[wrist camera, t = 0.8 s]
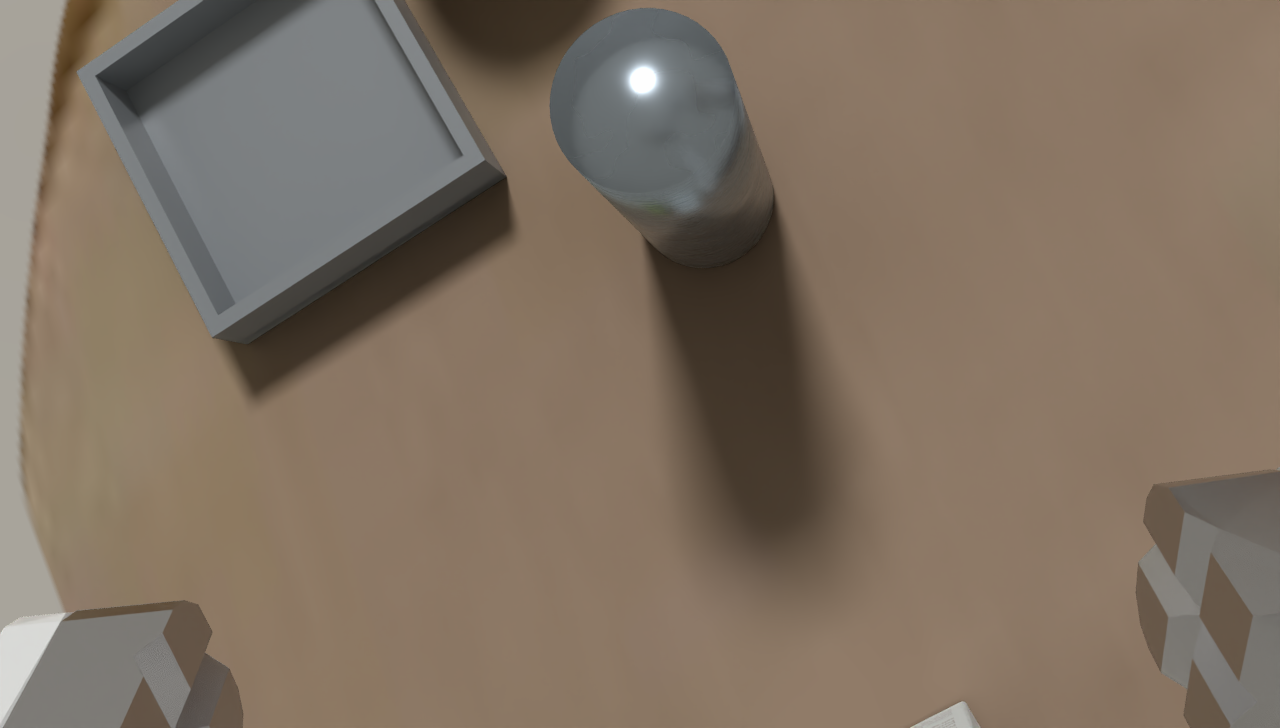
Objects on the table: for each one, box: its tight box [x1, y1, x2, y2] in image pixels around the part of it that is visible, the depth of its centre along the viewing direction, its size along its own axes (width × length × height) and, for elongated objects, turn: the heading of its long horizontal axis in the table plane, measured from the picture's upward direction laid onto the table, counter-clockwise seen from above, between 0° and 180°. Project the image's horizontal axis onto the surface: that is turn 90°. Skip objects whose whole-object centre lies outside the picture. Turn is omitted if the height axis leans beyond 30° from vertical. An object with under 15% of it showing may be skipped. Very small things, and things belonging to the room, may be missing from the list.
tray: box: [77, 0, 506, 344], centre depth 45 cm, size 12×12×2 cm
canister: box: [550, 8, 774, 268], centre depth 37 cm, size 5×5×12 cm
